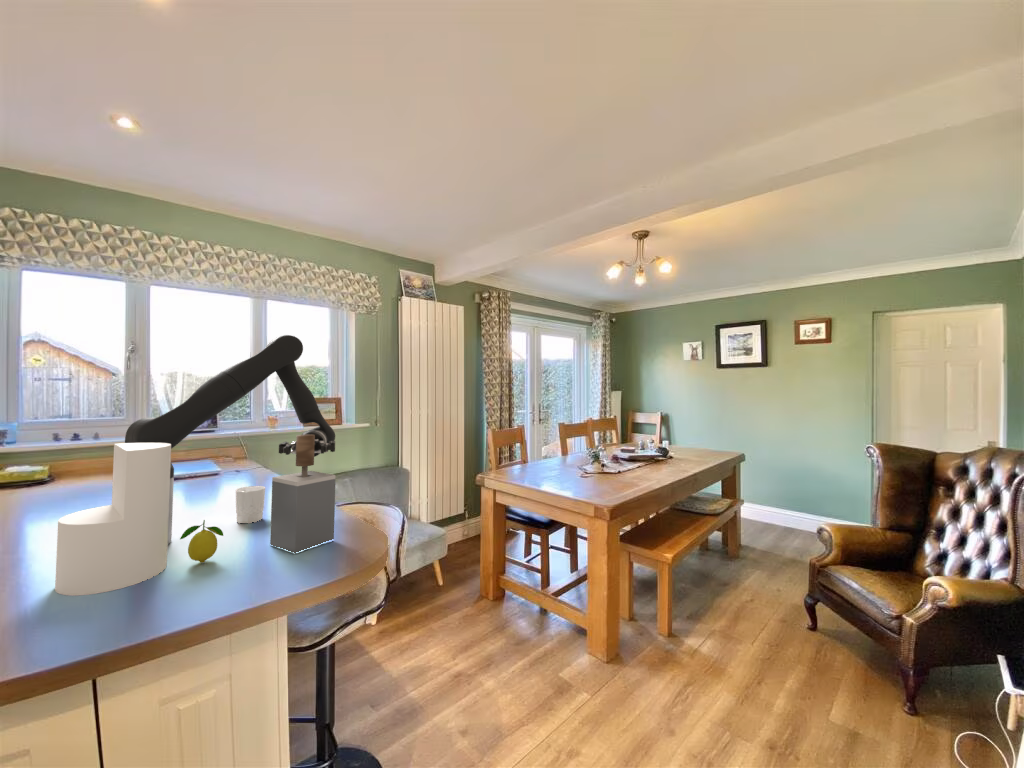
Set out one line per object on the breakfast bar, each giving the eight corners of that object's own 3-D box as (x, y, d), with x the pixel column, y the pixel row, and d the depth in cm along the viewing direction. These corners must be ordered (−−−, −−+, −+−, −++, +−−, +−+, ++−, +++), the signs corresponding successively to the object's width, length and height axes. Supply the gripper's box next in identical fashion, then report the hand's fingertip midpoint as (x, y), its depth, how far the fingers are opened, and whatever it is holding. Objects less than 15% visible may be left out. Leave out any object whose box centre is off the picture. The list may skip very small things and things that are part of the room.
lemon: (178, 569, 92) (180, 525, 92) (191, 559, 98) (192, 517, 98) (212, 566, 94) (214, 523, 94) (223, 556, 99) (224, 515, 100)
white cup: (253, 524, 123) (254, 491, 124) (228, 524, 124) (229, 491, 124) (269, 517, 131) (270, 486, 132) (245, 516, 131) (246, 485, 132)
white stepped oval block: (158, 554, 100) (162, 440, 101) (175, 574, 90) (179, 447, 90) (52, 577, 87) (58, 447, 88) (57, 605, 76) (64, 455, 77)
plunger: (297, 543, 104) (300, 437, 105) (280, 537, 108) (283, 435, 108) (324, 534, 110) (327, 435, 111) (307, 529, 114) (310, 433, 115)
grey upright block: (295, 554, 101) (297, 482, 102) (270, 545, 107) (272, 477, 107) (333, 541, 111) (335, 475, 111) (309, 533, 116) (310, 470, 117)
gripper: (286, 431, 122) (275, 436, 107) (337, 430, 127) (334, 435, 112) (285, 456, 122) (274, 465, 107) (337, 454, 127) (333, 463, 111)
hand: (305, 450), depth 109 cm, fingers open, 8 cm apart
